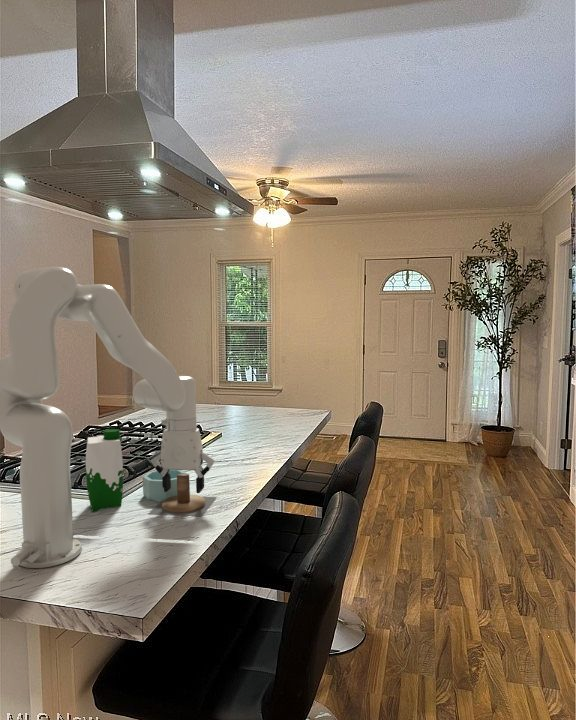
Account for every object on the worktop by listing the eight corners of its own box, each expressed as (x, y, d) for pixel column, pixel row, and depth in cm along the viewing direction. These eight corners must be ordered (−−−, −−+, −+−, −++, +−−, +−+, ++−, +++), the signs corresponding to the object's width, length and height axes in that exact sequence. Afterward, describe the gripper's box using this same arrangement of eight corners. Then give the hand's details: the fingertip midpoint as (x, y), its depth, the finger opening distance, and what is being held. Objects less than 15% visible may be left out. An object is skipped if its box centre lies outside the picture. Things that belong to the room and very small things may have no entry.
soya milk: (125, 508, 139) (122, 433, 137) (87, 513, 135) (84, 436, 134) (122, 498, 147) (120, 426, 145) (87, 502, 144) (84, 429, 142)
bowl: (177, 503, 142) (177, 481, 141) (138, 502, 143) (137, 480, 143) (191, 490, 153) (190, 469, 152) (154, 488, 154) (153, 468, 154)
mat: (202, 518, 131) (202, 516, 131) (147, 516, 133) (147, 514, 133) (217, 499, 145) (217, 497, 145) (167, 497, 147) (167, 495, 147)
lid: (197, 513, 133) (197, 482, 132) (155, 512, 134) (154, 481, 134) (210, 498, 144) (209, 469, 143) (171, 497, 145) (170, 468, 145)
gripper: (143, 426, 135) (145, 494, 136) (210, 428, 132) (212, 497, 134) (154, 421, 142) (156, 485, 144) (218, 422, 140) (219, 487, 141)
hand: (183, 490), depth 139 cm, fingers open, 8 cm apart
